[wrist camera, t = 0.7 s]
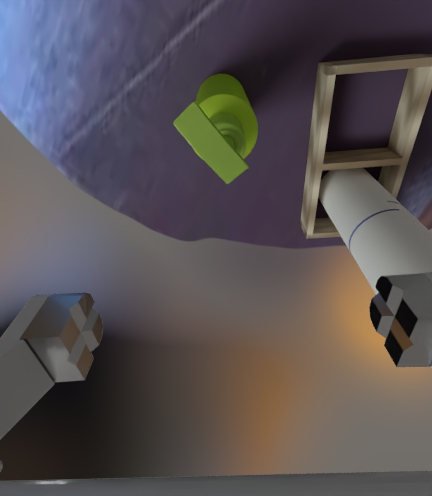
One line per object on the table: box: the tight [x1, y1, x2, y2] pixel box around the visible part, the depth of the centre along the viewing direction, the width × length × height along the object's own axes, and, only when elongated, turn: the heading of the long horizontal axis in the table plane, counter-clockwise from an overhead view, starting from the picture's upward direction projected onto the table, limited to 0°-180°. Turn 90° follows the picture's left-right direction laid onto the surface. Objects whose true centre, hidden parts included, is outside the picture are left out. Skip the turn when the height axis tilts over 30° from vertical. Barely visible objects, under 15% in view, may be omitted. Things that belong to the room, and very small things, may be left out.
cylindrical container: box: [318, 168, 432, 295], centre depth 32 cm, size 7×7×25 cm
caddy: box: [300, 53, 432, 239], centre depth 37 cm, size 21×11×4 cm, turn 5°
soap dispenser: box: [173, 74, 258, 184], centre depth 27 cm, size 6×7×20 cm
